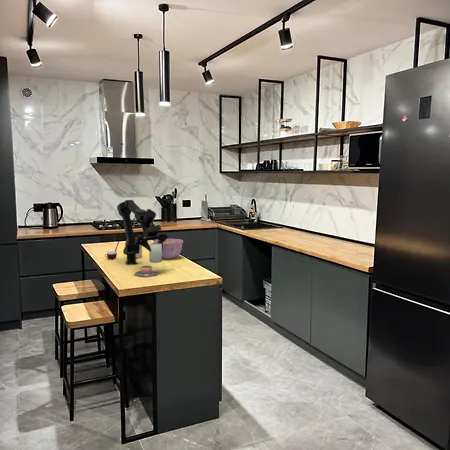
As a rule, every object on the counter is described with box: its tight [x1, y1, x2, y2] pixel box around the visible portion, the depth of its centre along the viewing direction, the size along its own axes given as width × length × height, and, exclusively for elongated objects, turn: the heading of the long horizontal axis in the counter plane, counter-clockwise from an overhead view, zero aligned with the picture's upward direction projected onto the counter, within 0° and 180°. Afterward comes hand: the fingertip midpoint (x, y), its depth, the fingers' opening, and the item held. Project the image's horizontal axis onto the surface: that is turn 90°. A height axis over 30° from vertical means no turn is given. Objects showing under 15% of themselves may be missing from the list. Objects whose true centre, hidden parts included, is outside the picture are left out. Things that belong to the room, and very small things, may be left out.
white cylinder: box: [148, 243, 163, 264], centre depth 238 cm, size 7×7×10 cm
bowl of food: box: [152, 238, 184, 260], centre depth 282 cm, size 20×20×12 cm
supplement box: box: [136, 244, 143, 259], centre depth 282 cm, size 8×5×13 cm, turn 75°
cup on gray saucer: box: [134, 265, 159, 278], centre depth 236 cm, size 13×13×4 cm
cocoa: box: [104, 240, 120, 260], centre depth 277 cm, size 10×6×12 cm, turn 72°
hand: (156, 250), depth 236 cm, fingers closed on white cylinder, 7 cm apart
